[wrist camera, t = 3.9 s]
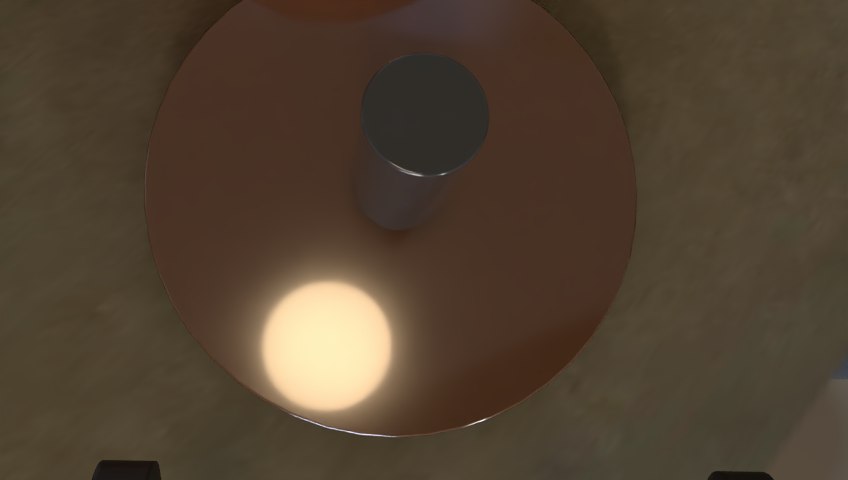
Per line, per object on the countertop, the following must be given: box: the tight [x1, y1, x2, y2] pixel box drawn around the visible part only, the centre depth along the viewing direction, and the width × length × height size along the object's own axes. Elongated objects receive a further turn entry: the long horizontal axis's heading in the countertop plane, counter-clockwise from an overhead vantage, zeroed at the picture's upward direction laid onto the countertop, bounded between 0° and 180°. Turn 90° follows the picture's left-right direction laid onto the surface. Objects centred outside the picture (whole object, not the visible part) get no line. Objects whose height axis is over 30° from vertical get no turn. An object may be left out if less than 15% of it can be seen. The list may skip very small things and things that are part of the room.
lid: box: [144, 0, 637, 438], centre depth 20 cm, size 14×14×8 cm
